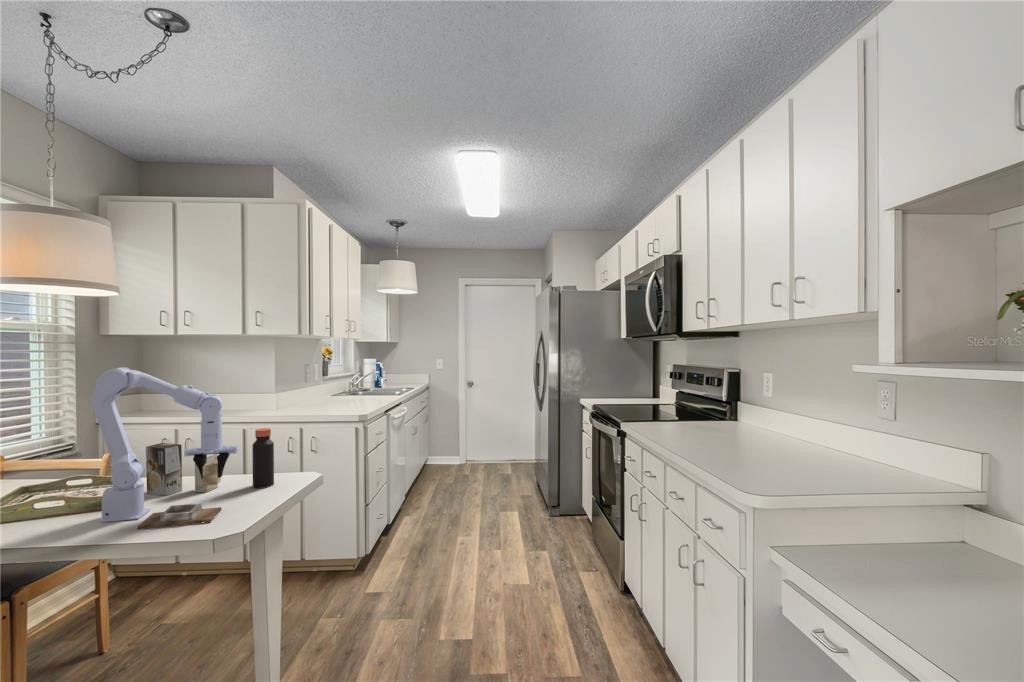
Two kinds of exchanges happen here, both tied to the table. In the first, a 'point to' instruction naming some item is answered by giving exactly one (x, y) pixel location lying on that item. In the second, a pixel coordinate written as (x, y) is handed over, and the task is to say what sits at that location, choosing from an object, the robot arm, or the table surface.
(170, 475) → the coffee box
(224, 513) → the table surface
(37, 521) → the table surface
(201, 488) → the skincare box
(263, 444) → the bottle
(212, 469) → the peg
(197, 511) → the socket stand
